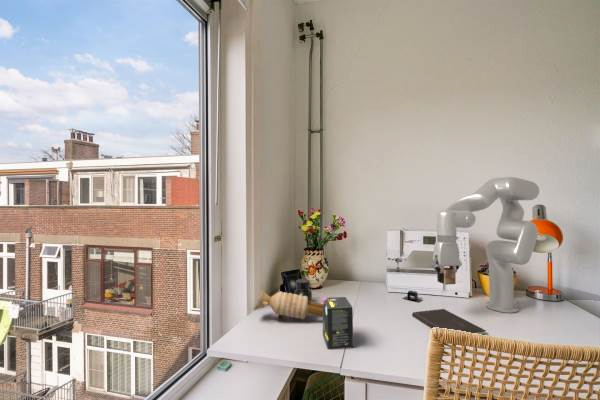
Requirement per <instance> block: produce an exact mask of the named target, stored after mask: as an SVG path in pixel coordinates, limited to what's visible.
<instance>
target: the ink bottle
mask: <svg viewBox="0 0 600 400" xmlns="http://www.w3.org/2000/svg"><path fill="white" fill-rule="evenodd" d="M310 283H311V281H310V280H309V279H306V278H299V279H296V280H295V288H296V289H295V290H294V291H293V294H297V295H302V296H307V297H308V300H309V301H311V302H313V293H312V290H311V289H310V288H311V284H310Z"/></svg>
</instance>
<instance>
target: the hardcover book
mask: <svg viewBox="0 0 600 400" xmlns="http://www.w3.org/2000/svg"><path fill="white" fill-rule="evenodd" d="M411 316H412V317H413V318H415V319H416V320H418V321H419V322H421V323H423V325H426V326H427V327H428V328H430V329H432V328H433V327H439V328H447V329H454V330H461V331H466V332H471V333H478V334H484V335H485V332H486V331H487V330H486V329H484V328H482V327H481V326H478V325H476V324H474V323H473V322H470V321H468V320H466V319H465V318H463V317H460V316H458V315H456V314H455V313H452V312H451V311H449V310H447V309H444V308H438V309H431V310H430V309H429V310H421V311H413V312H412V314H411Z"/></svg>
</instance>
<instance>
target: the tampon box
mask: <svg viewBox="0 0 600 400" xmlns="http://www.w3.org/2000/svg"><path fill="white" fill-rule="evenodd" d="M322 304H323V317H322V337H323V340H324V342H325V343H324V344H325V346H326V348H327V350H330V349H351V348H352V349H354V327H353V326H354V324H353V323H354V322H353V321H354V316H353V315H354V314H353V313H354V312H353V311H354V310H353V306H352V304H351V302H350V301H349V300H348V298H347V297H346V296H337V297H334V296H333V297H322Z"/></svg>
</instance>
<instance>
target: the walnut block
mask: <svg viewBox="0 0 600 400" xmlns="http://www.w3.org/2000/svg"><path fill="white" fill-rule="evenodd" d="M443 273H444V283H441V282H439V281H438V279H437V282H438V283H440V284H443V285H456V282H457V281H456V280H457V279H456V278H457V277H456V275H457V273H456V270H454V269H451V268H449V266H444V269H443Z"/></svg>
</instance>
